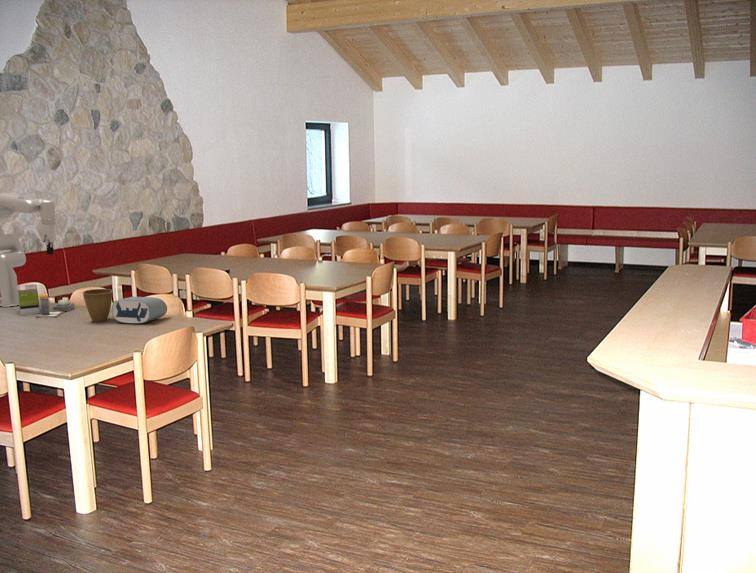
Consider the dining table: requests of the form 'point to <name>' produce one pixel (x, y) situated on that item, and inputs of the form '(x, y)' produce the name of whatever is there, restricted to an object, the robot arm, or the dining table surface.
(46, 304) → the marker
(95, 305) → the plant pot
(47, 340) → the dining table surface
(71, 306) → the button housing
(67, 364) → the dining table surface
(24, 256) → the robot arm
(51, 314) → the clipboard
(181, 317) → the dining table surface
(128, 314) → the pencil case
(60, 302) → the button
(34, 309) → the tea box
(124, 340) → the dining table surface
